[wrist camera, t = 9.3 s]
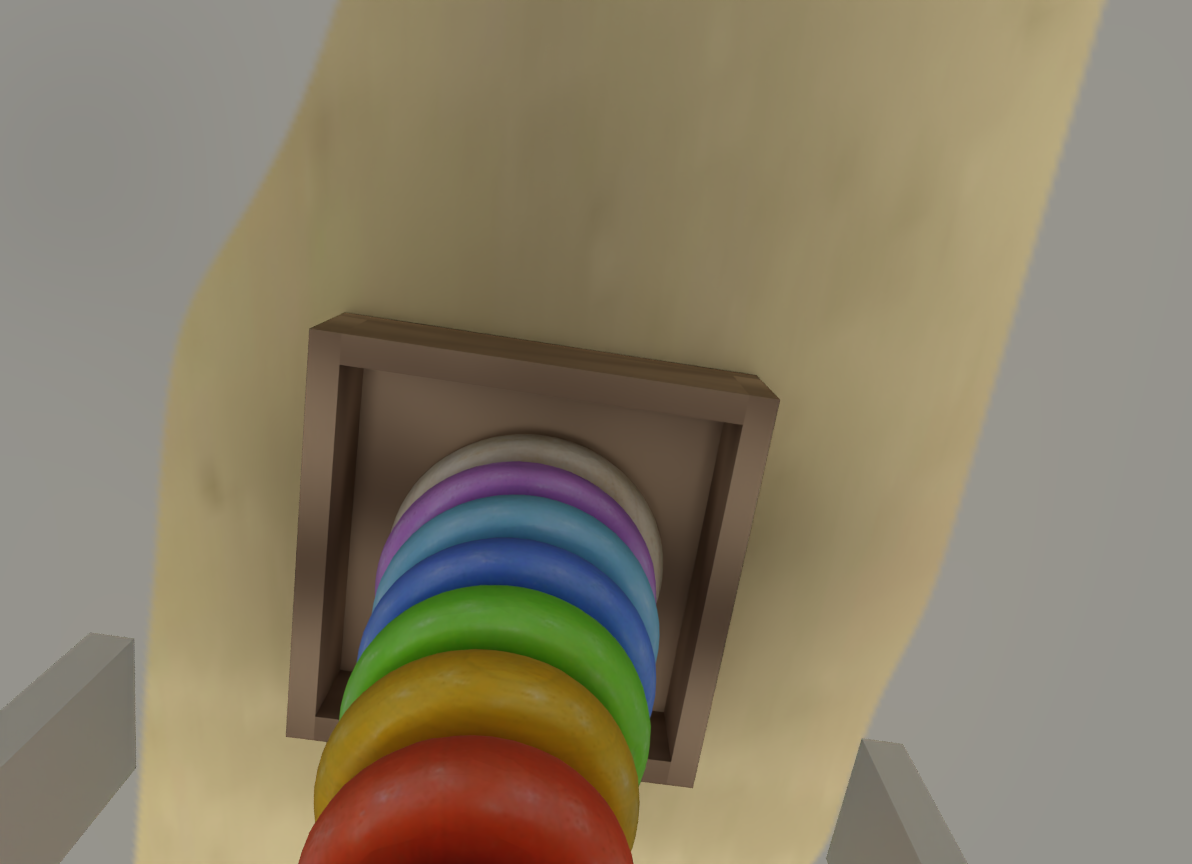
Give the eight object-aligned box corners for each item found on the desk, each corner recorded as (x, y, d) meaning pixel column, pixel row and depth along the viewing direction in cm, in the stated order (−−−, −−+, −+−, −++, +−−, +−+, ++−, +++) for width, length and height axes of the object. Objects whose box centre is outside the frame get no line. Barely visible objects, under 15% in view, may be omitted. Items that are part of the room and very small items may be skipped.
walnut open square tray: (344, 312, 23) (309, 328, 20) (756, 375, 23) (780, 399, 21) (319, 677, 26) (285, 736, 23) (681, 724, 27) (692, 787, 24)
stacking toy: (688, 631, 25) (934, 1729, 7) (445, 693, 26) (100, 1855, 8) (620, 394, 23) (725, 1097, 5) (358, 467, 24) (-406, 1337, 6)
